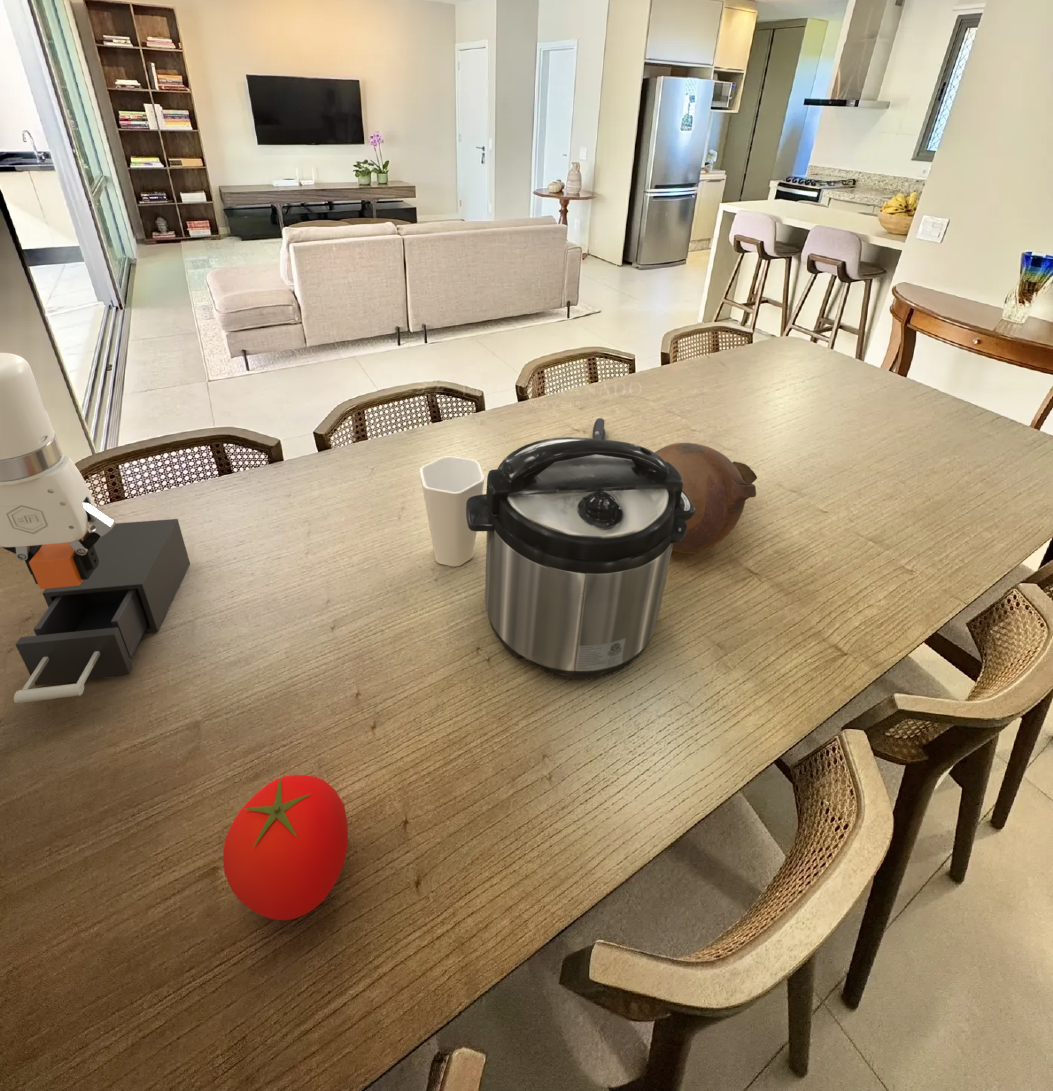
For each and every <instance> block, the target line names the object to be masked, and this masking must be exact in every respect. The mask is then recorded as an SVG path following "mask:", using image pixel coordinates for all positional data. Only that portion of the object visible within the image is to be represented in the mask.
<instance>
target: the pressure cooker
mask: <svg viewBox="0 0 1053 1091" xmlns="http://www.w3.org/2000/svg"><path fill="white" fill-rule="evenodd" d="M654 452H655V451H653V450H651V449H649V448H647V447H644V446H641V445H637V444H635V443H631V442H627V441H619V440H612V439H605V440H597V439H592V438H588V437H579V436H578V437H575V436H574V437H573V436H564V437H552V438H545V439H541V440H536V441H533V442H531V443H528V444H524V445H522V446H520V447H518V448H517V449H515V450H513V451H512V452H510V453H509V454H508V455H507V456H506V457H504V459H503V460H502V461H501V463H500V464H499V465H498V466H497V468H495V469H490V470H489V471H488V473H487V476H486V492H485V493H483V494H482V495H476V496H472V497H470V498H468V500H467V503H466V517H467V523H468V527H469V529H470V530H471V531H477V532H486V546H485V547H486V548H485V550H486V551H485V577H484V578H485V582H484V604H485V610H486V615H487V618H488V620H489V625H490V627H491V629H492V631H493V633H494V635H495V637H496V638H497V639H498V640H499V642H500V643H501V644H502V645H503V647H504V648H505V649H506V650H507V651H508V652H509V653H510V655H512V656H513V657H514V658H516V659H517V660H521V661H522V660H528V662H529V663H530V664H532V665H533V666H534V665H535V666H536V667H539V668H540V670H542V671H544V672H546V673H549V674H550V675H552V677H555V678H560V679H565V680H574V681H581V680H582V681H585V680H594V679H595V680H596V679H599V678H604V677H607V676H610V675H613V674H615V673H618V672H619V671H621V670H623V669H625V668H626V667H628V666H630V665H631V664H632V663H633V662H634V661H635V660H637V659H638V658H639V657H640V656H641V655H642V653H644V651H645V650H646V649H647V647H648V646H649V645H650V642H651V641H652V640H653V636H654V633H655V631H656V629H657V625H658V621H659V620H658V619H659V614H660V610H661V605H662V600H663V596H664V591H665V586H666V582H667V577H668V572H669V566H670V561H671V556H672V552H673V550H672V548H673V543H676V542H681V541H682V540H683V539H684V537H685V534H686V530H687V524H686V522H685V521H686V520H688V519H690V518H691V517H692V516H693V515H694V514H695V508H694V506H693V504H692V502H691V500H690V499H689V497H688V496H687V495H686V494H685V492H684V491H683V490H682V488H683V480H682V477H681V475H680V473H679V472H678V471H677V470H676V469H675V467H674V466H672V465H671V464H670V463H669V462H665V461H664V460H663V459H662V458H661V457H660V456H659V455H657V454H656V453H654Z"/></svg>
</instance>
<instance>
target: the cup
mask: <svg viewBox="0 0 1053 1091" xmlns="http://www.w3.org/2000/svg"><path fill="white" fill-rule="evenodd" d="M419 477H420V481H421V487H422V493H423V498H424V504H425V510H426V516H427V522H428V528H429V532H430V538H431V543H432V545H431V546H432V550H433V554H434V559H435V562H436V563H438V564H440V565H444V566H448V567H454V568H456V567H460V566H463V565H464V564H465V563H466V562H468V561H470V560H472V559H473V557H474V555H475V549H476V540H477V535H478V531H471V530H470V529H469V527H468V523H467V517H466V503H467V500H468V498H470V497H472V496H476V495H482V494H484V487H485V486H484V485H485V480H486V478H485V475H484V472H483V470H482V467H481V465H480V462H479V461H478V460H476V459H473V458H472V459H471V458H465V457H459V456H453V455H444V456H440V457H439V458H437V459H435V460H433V461H431V462H429V463H426V464H425V465H423V466H420V468H419Z"/></svg>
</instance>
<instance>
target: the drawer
mask: <svg viewBox="0 0 1053 1091" xmlns="http://www.w3.org/2000/svg"><path fill="white" fill-rule="evenodd" d="M148 623H149V621H148V618H147V615H146V612H145V609H144V606H143V603H142V600H141V597H140V595H139V592H138V589H128V590H117V591H106V592H95V593H84V594H73V595H62V596H57V597H56V598H55V599H54V601H53V602H52V604H51V605H50V606H49V607H48V608H47V609H46V611H45V612H44V613H43V615H42V616H41V618H40V619H39V620H38V622H37V623H36V625H35V626H34V627H33V632H34V634H35V635H28V636H20V638H19V639H18V640H17V642H16V643H15V647H16V649H17V651H18V653H19V655H20V658H21V659H22V661H23V664H24V665H25V668H26V669H27V672H28V674H29V676H30V677H29V678H28V680H27V681H26V683H25V684H24V686H23V687H22V689H19V690H17V691H16V692H15V693H14V695H13V702H14V703H15V704H21V703H28V702H29V703H30V702H37V701H46V700H54V699H63V698H64V699H65V698H72V697H80V696H82V695H83V693H84V691H85V684H86V681H89V680H97V679H108V678H115V677H124V676H130V675H131V673H132V671H133V669H134V666H133V664H132V661H131V659H132V658H133V655H134V653H135V651H136V649H137V647H138V645H139V644H140V641H141V639H142V637H143V635H144V634H145V633H144V631H145V629H146V627H147V625H148ZM143 633H144V634H143ZM71 682H76V683H71ZM63 683H71V684H63ZM52 684H53V685H54V686H53V685H52ZM55 684H61V685H55ZM34 685H35V687H36V688H35V687H34V688H33V686H34ZM45 685H52V686H45ZM38 686H45V687H38Z"/></svg>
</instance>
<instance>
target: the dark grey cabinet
mask: <svg viewBox="0 0 1053 1091" xmlns="http://www.w3.org/2000/svg"><path fill="white" fill-rule="evenodd" d="M89 528H90V529H91V531H92V530H93V529H94V528H95V526H94V525H92V524H91V526H90V527H89ZM94 548H95V551H96V553H97V556H98V559H99V564H98V566H97V568H96V569H95V570H94V571H93V573H92V574H91V576H90V577H89V579H87V580H83V581H82V582H81V584H80V585H79V586H69V587H59V588H48V589H43V591H42V596H43V598H44V601H45V602H46V605H47V607H48V608H49V606H50V605H51V604H52V602H53V601H54V599H55V598H56V597H57V596H62V595H73V594H84V593H95V592H106V591H117V590H128V589H138V592H139V595H140V597H141V600H142V603H143V606H144V609H145V612H146V615H147V618H148V621H149V623H148V625H147V627H146V629H145V631H144V633H143V635H144V634H153V633H159V631H160V629H161V627H162V624H163V622H164V620H165V618H166V617H167V616H166V615H167V613H168V611H169V609H170V607H171V605H172V603H173V601H174V599H175V596H176V594H177V592H178V591H179V588H180V587H181V584H182V581H183V580H184V578H185V575H186V573H187V572H188V569H189V567H190V565H191V561H190V558H189V555H188V551H187V546H186V544H185V541H184V536H183V533H182V529H181V525H180V523H179V519H178V518H171V519H169V518H168V519H158V520H144V521H143V520H141V521H130V522H117V523H116V522H115V525H114V527H113V528H112V529H111V531H110V532H108V533H107V534H105V535H104V536H103V537H101V538H100V539H98V541H97V542H96V543H95V544H94Z"/></svg>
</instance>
